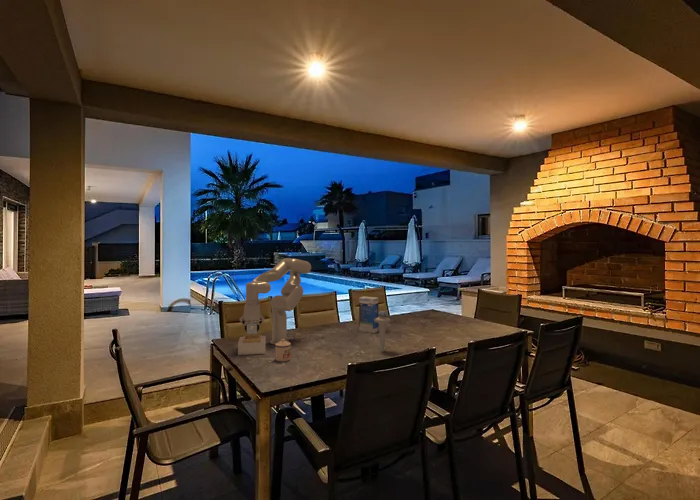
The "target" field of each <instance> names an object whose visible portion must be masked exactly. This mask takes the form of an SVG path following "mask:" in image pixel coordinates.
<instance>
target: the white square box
mask: <svg viewBox="0 0 700 500" xmlns="http://www.w3.org/2000/svg"><path fill="white" fill-rule="evenodd" d="M266 339H267V338H266V335H262V334H245V335H243V336H239V339H238V342H237V356H249V355H251V356H252V355H263V354H264V355H265V354H266V349H267V347H266V345H267V342H266Z"/></svg>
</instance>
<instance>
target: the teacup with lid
mask: <svg viewBox="0 0 700 500" xmlns="http://www.w3.org/2000/svg"><path fill="white" fill-rule="evenodd" d="M274 347H275V349H274V350H275V352H274V353H275V361H277V362H280V363H281V362H288V361H290V360H291V351H292V343H291V342H290V341H289V342H287V341H285V339H281V341H280V342H278V343H276V344H275V345H274Z"/></svg>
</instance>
